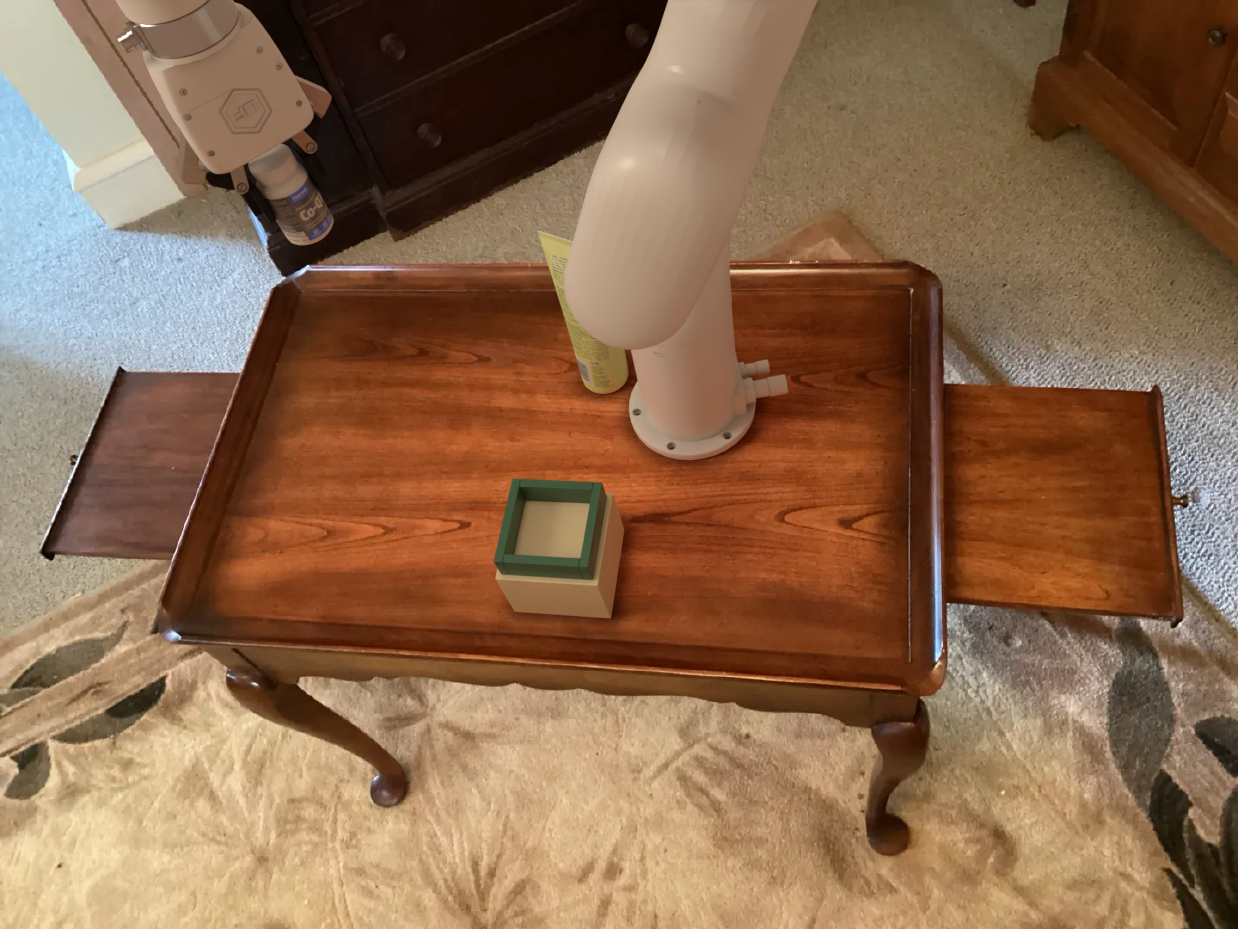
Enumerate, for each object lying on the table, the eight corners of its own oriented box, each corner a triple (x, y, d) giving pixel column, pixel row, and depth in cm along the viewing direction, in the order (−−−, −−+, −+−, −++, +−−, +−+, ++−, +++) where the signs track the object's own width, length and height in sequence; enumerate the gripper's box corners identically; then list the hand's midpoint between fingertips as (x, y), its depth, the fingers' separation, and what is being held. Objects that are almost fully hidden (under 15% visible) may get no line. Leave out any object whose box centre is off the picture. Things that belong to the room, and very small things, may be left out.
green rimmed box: (624, 530, 90) (608, 477, 82) (611, 619, 86) (592, 572, 78) (532, 525, 92) (508, 473, 84) (514, 612, 88) (486, 566, 80)
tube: (629, 350, 102) (598, 213, 86) (640, 387, 99) (610, 252, 83) (577, 364, 102) (536, 229, 86) (587, 401, 99) (546, 269, 83)
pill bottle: (323, 247, 89) (282, 177, 82) (279, 246, 91) (234, 176, 84) (342, 211, 92) (302, 139, 85) (298, 210, 93) (256, 139, 86)
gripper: (100, 93, 69) (228, 270, 84) (303, -17, 73) (391, 172, 88) (70, 52, 73) (197, 228, 88) (264, -52, 77) (354, 135, 92)
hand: (293, 198), depth 88 cm, fingers closed on pill bottle, 4 cm apart
